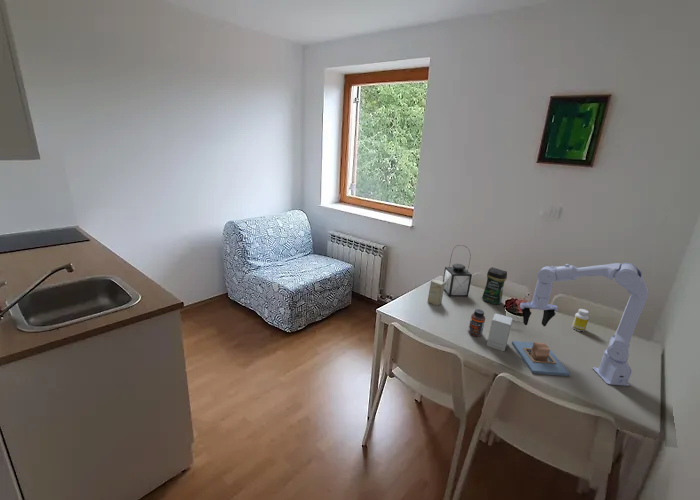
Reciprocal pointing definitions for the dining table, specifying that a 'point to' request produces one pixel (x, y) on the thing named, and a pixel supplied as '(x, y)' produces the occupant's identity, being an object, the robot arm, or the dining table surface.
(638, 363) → the dining table surface
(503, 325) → the supplement box
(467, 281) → the lantern
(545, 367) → the blue board with hole
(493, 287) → the coffee jar
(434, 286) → the skincare box
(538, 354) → the block
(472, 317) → the supplement bottle
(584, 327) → the supplement bottle
